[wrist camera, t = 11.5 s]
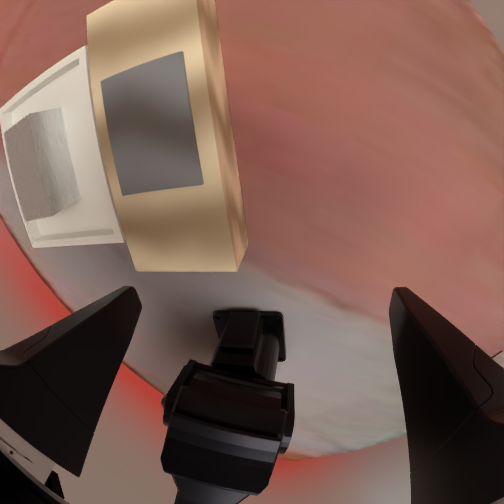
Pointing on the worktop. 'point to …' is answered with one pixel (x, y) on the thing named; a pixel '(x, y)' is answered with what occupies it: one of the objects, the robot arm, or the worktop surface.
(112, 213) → the parts tray
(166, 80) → the light wood plank
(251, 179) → the worktop surface
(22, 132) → the light grey block
